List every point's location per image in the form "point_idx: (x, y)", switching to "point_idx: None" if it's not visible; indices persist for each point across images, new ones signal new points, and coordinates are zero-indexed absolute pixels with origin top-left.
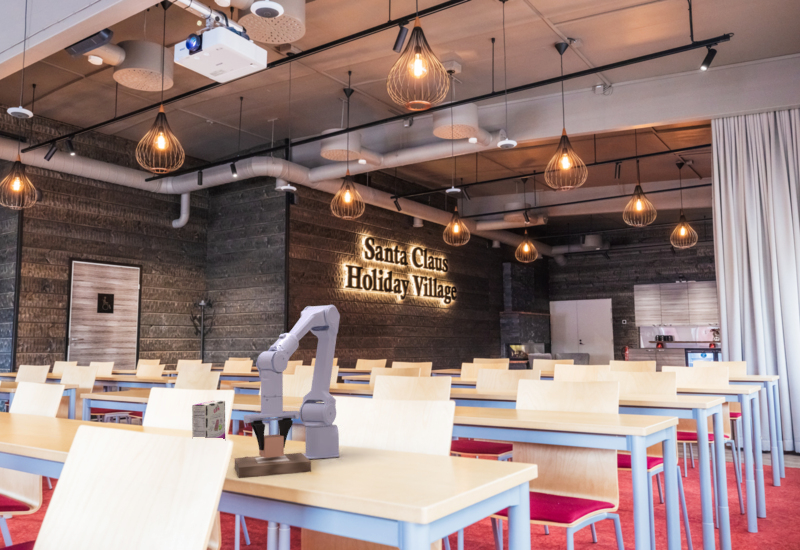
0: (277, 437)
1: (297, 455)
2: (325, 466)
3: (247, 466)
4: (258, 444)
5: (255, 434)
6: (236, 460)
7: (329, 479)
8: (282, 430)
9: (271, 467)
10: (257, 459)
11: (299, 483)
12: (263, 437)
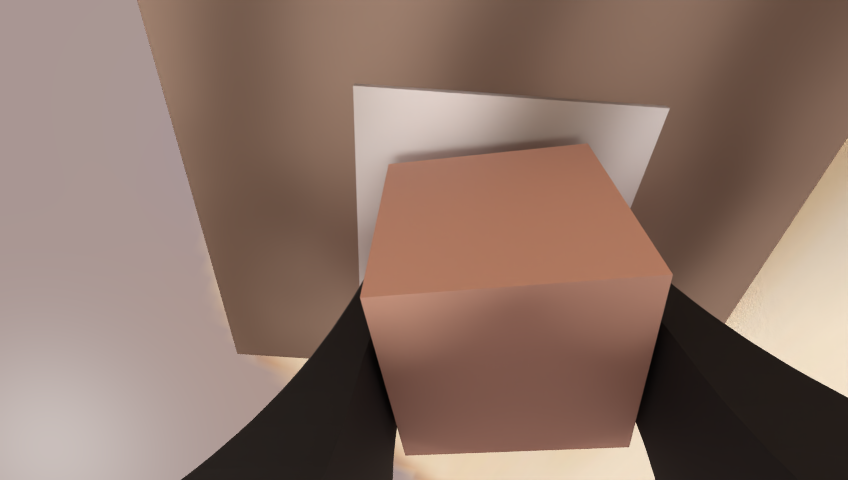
0: (550, 443)
1: (778, 143)
2: (831, 257)
3: (288, 350)
4: (355, 299)
5: (290, 388)
6: (172, 100)
7: (625, 467)
8: (676, 477)
9: None
10: (369, 192)
11: (499, 469)
12: (389, 448)
